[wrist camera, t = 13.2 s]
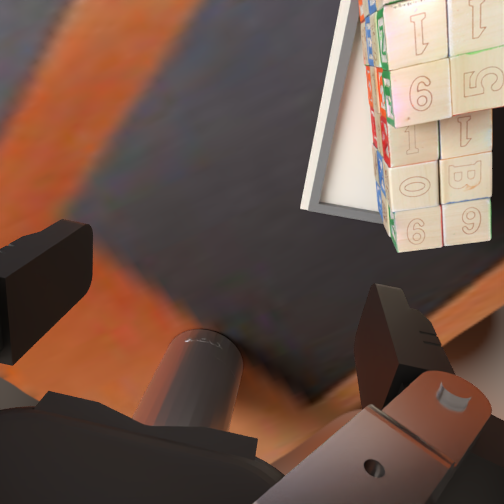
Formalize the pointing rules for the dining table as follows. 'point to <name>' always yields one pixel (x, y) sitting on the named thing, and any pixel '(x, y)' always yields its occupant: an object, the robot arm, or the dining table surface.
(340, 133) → the base board
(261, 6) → the dining table surface
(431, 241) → the stack of blocks
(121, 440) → the robot arm
